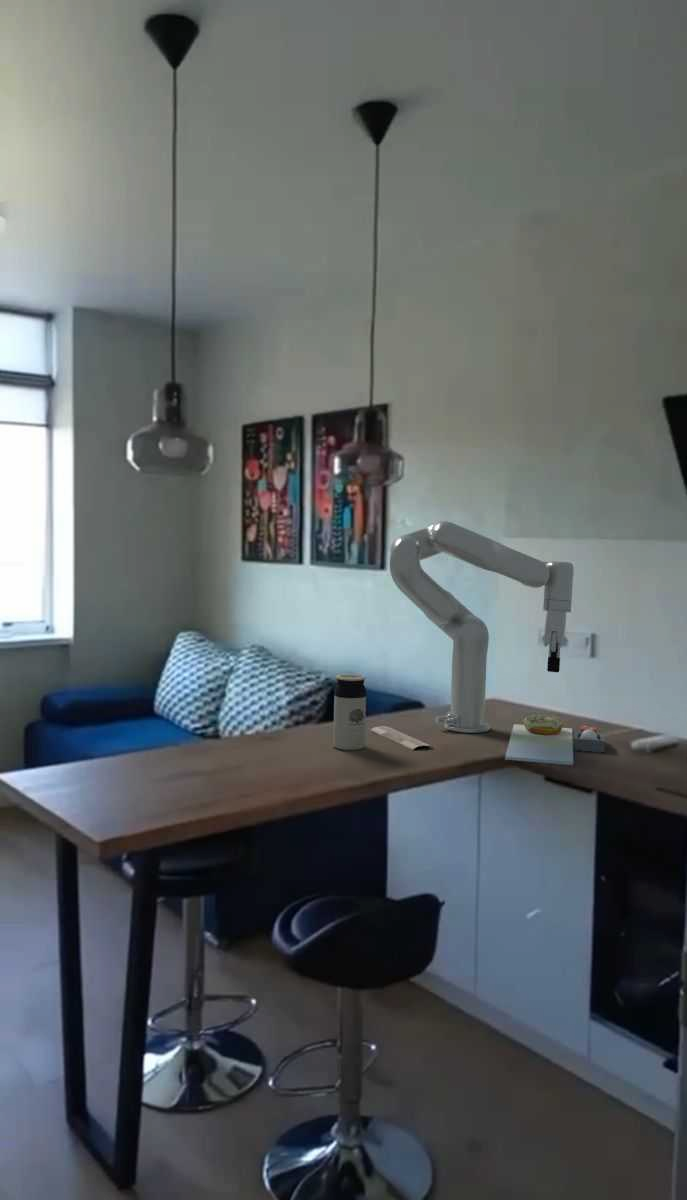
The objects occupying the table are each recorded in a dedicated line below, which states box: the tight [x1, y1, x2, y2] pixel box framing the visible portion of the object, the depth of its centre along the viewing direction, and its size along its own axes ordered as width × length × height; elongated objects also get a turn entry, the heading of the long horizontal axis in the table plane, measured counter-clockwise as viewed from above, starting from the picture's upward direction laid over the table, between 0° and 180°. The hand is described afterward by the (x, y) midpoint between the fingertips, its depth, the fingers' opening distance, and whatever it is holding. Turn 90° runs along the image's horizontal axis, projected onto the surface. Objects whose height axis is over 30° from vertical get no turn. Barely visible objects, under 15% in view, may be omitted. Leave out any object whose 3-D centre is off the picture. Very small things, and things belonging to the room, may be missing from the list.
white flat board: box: [504, 723, 574, 766], centre depth 234 cm, size 39×16×1 cm, turn 166°
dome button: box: [580, 729, 598, 740], centre depth 231 cm, size 5×5×4 cm
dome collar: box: [572, 732, 606, 753], centre depth 231 cm, size 8×8×3 cm
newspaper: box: [370, 725, 434, 751], centre depth 236 cm, size 24×7×2 cm, turn 25°
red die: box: [579, 725, 597, 734], centre depth 238 cm, size 4×4×4 cm
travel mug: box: [332, 673, 367, 751], centre depth 225 cm, size 8×8×18 cm
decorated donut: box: [523, 714, 564, 735], centre depth 246 cm, size 10×11×4 cm
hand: (553, 671), depth 250 cm, fingers closed
